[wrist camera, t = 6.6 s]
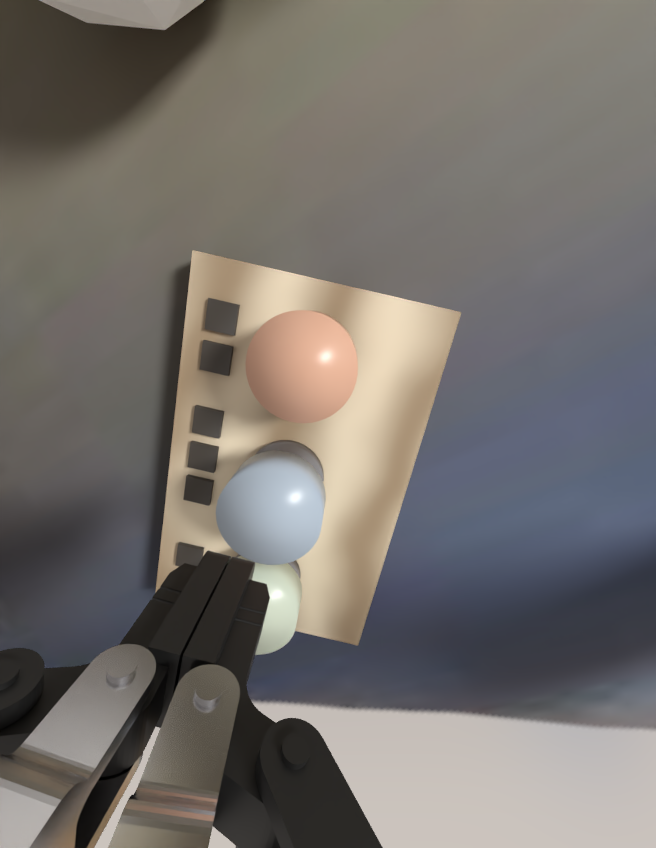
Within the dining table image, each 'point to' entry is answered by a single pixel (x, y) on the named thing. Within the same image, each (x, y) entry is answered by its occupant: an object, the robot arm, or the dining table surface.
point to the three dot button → (272, 508)
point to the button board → (302, 427)
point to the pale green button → (278, 605)
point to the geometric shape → (127, 11)
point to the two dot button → (302, 366)
